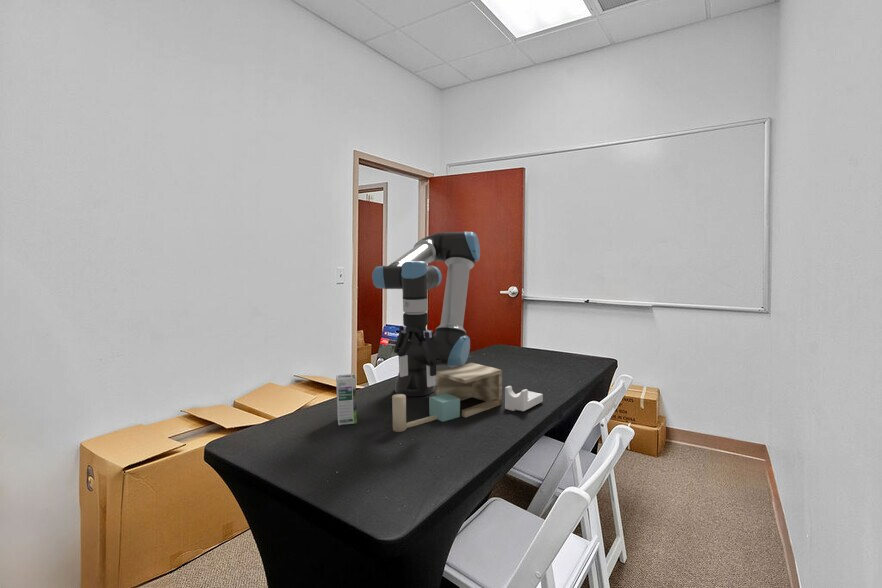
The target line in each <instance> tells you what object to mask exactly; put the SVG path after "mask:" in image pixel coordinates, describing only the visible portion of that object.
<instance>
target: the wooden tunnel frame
mask: <svg viewBox="0 0 882 588" xmlns="http://www.w3.org/2000/svg"><path fill="white" fill-rule="evenodd" d="M434 393H435V395H434V396H437V395H441V394H445V393H447V394H450V395H453V396H455V397H458V398H460V402H462V401H465V400H467V399H471V398H474V399H476V400H480V401H483V402H481V403H479V404H476V405H472V406H470V407H467V408H464V409H461V417H462V418H469V417H471V416H474V415H476V414H479V413H482V412H484V411H489V410H491V409H493V408H495V407H499V406H501V405H503V402H502V401H503V369H499V368H497V367H492V366H489V365H488V366H487V365H483V364H479V363H475V362H469V363H465V364H464V365H460V366H456V367H447V368H444V369H439V370H436V385H434Z"/></svg>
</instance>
